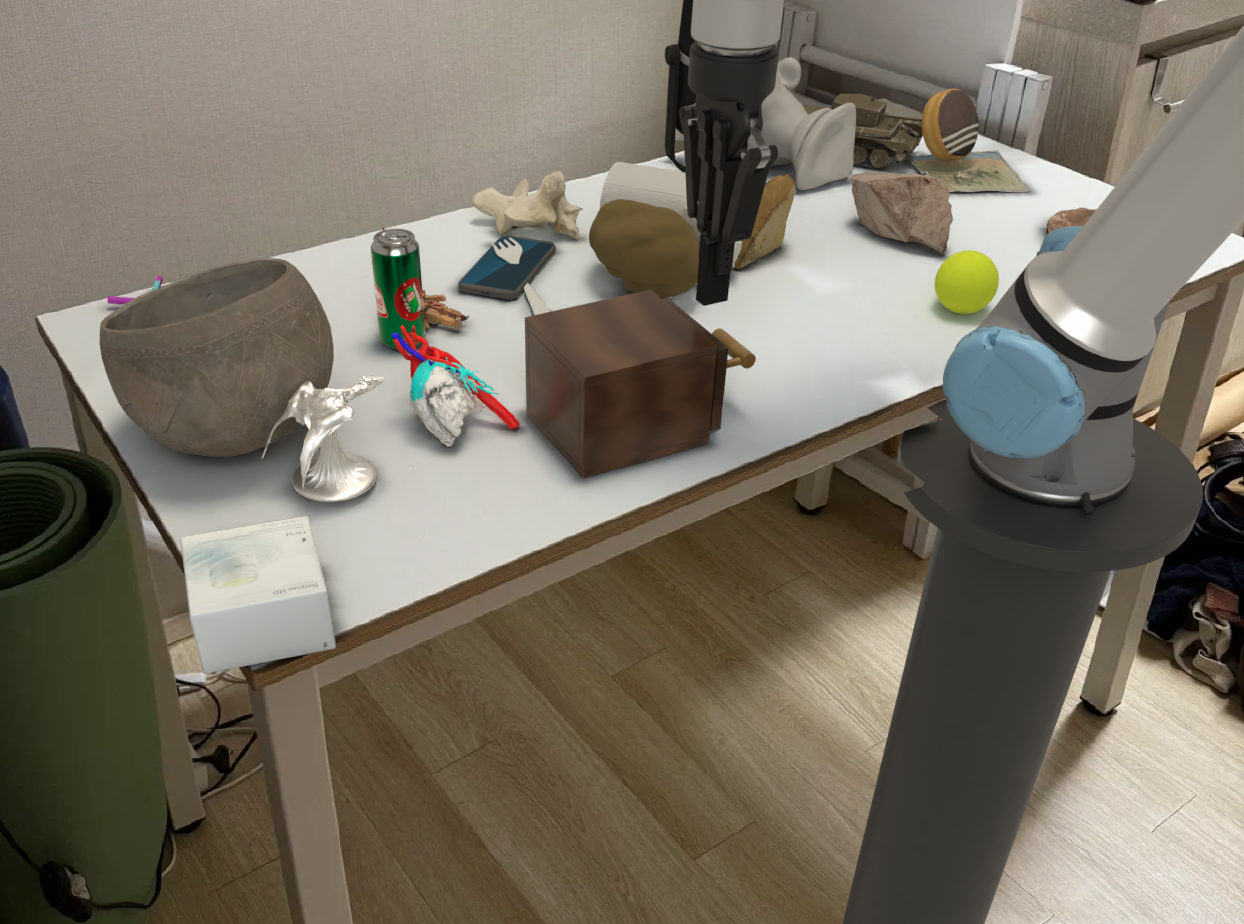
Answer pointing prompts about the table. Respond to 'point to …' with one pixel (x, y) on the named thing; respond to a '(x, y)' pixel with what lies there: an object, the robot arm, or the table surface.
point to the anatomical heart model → (445, 389)
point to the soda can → (397, 284)
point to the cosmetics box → (256, 594)
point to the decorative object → (531, 206)
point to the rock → (769, 220)
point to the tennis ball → (966, 282)
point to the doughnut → (950, 125)
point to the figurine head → (806, 132)
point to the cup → (645, 186)
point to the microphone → (678, 81)
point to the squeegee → (125, 299)
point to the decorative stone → (646, 247)
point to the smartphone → (507, 269)
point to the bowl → (218, 356)
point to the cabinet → (619, 381)
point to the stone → (904, 207)
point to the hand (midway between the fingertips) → (711, 299)
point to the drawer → (720, 362)
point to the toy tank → (878, 131)
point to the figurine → (328, 443)
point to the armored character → (440, 311)
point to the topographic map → (972, 172)
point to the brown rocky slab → (1069, 218)
